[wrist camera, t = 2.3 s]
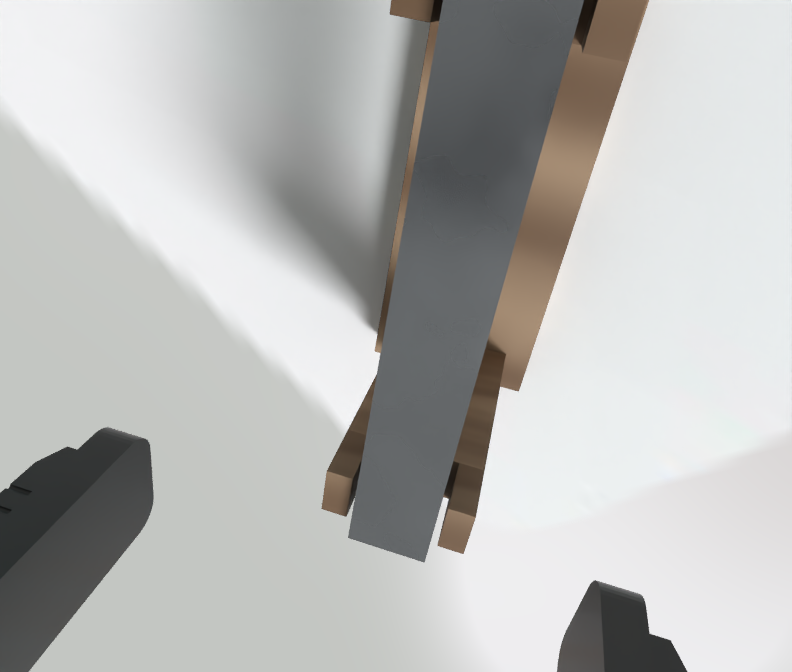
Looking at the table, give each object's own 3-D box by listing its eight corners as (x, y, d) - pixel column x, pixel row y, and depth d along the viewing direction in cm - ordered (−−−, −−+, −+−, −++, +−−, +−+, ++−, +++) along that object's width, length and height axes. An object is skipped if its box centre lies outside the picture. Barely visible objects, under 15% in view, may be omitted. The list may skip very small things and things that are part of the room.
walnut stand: (450, -56, 24) (352, -97, 14) (651, -20, 23) (719, -31, 12) (381, 338, 34) (292, 499, 23) (520, 376, 33) (494, 564, 22)
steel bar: (480, -91, 15) (462, -108, 13) (602, -70, 15) (607, -84, 12) (370, 483, 25) (348, 537, 23) (439, 504, 25) (424, 562, 23)
